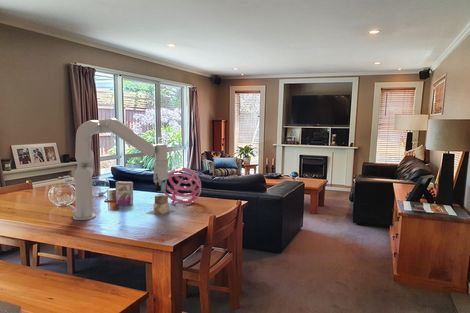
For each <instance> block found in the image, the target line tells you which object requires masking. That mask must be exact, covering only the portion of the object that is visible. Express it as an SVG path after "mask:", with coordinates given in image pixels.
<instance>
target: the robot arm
mask: <svg viewBox="0 0 470 313" xmlns="http://www.w3.org/2000/svg"><path fill="white" fill-rule="evenodd" d="M106 133H111V134H114V136H116V137H118V138H120V140H122V141H123V142H124V143H126V144H128V145H130V146H132V147H133V148H135V149H136V150H138V151H139V152H141V153H142V154H143V155H144V156H147V157H152V156H153V155H154V159H155V160H154V161H155V162H154V164H155V165H154V168H153V183H154V184H155V185H156V187H155V188H156V189H155V190H156V192H157V191H159V192H158V193H162V192H161V185H160V184H161V182H166V184H167V185H168V182H169V179H168V178H169V177H168V176H169V175H168V173H169V169H168V146H167V144H166V143H150V142H149V141H147V140H146V139H144V137H142V136H141V135H139V134H138V133H137V132H136V131H134V130H133V129H132V128H130V127H129V126H128V125H126V124H124V123H123V122H121V121H120V120H119V119H117V118H115V117H111V118H108V119H91V120H87V121H85V122H83V123H81V124H80V125H79V127H78V128H77V130H76V133H75V154H74V155H75V156H74V157H75V158H74V159H75V160H76V162H77V164H76V169H75V170H74V173H73V181H74V182H73V184H74V199H75V204H74V205H75V209H73V210H72V214H74V215H73V216H72V219H73V220H74V221H87V220H91V219H94V218H95V217H96V213H94V212H93V210H94V209H93V208H94V206H93V205H94V204H93V203H94V202H93V200H94V198H93V178H92V177H93V175H94V171H95V170H94V168H95V165H94V164H95V162H94V161H95V160H94V159H95V157H94V152H93V150H92V137H93V135H97V134H98V135H99V134H106ZM158 182H159V183H158Z"/></svg>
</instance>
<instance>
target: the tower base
mask: <svg viewBox="0 0 470 313" xmlns="http://www.w3.org/2000/svg"><path fill="white" fill-rule="evenodd" d="M169 208H170V202H169V201H168V203H165V204H163V205H162V204H155V202H154V203H153V210H154V213H159V214H164V213H166V212H169V210H170V209H169Z"/></svg>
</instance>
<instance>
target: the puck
mask: <svg viewBox="0 0 470 313" xmlns="http://www.w3.org/2000/svg"><path fill="white" fill-rule="evenodd" d="M158 183H159V181H158ZM160 185H161V192H159V191H156V192H157V193H164V192H167V191H166V190H167V188H166V182H162V181H161V184H160Z"/></svg>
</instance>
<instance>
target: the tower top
mask: <svg viewBox="0 0 470 313" xmlns="http://www.w3.org/2000/svg"><path fill="white" fill-rule="evenodd" d="M168 198H169V197H168V195H166V194H161V193H160V194H157V195H154V203H155V204H162V205H163V204H165V203H168V202H169V199H168Z"/></svg>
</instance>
